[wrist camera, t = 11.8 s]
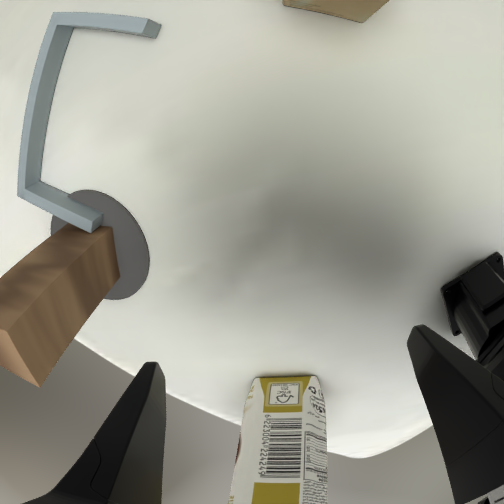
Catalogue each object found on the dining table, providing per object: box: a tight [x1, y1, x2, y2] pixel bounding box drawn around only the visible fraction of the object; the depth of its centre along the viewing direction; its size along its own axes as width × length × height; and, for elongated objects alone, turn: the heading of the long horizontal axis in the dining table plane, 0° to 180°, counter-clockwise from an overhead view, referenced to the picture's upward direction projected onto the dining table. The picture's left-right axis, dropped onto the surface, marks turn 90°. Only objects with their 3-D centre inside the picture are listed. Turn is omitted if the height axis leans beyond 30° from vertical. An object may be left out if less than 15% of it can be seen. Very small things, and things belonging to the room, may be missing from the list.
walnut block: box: [0, 223, 120, 387], centre depth 17 cm, size 4×4×12 cm
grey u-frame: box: [17, 12, 161, 233], centre depth 16 cm, size 8×15×2 cm, turn 157°
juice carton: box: [228, 376, 327, 504], centre depth 20 cm, size 8×9×19 cm
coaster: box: [51, 190, 149, 300], centre depth 22 cm, size 10×10×1 cm
